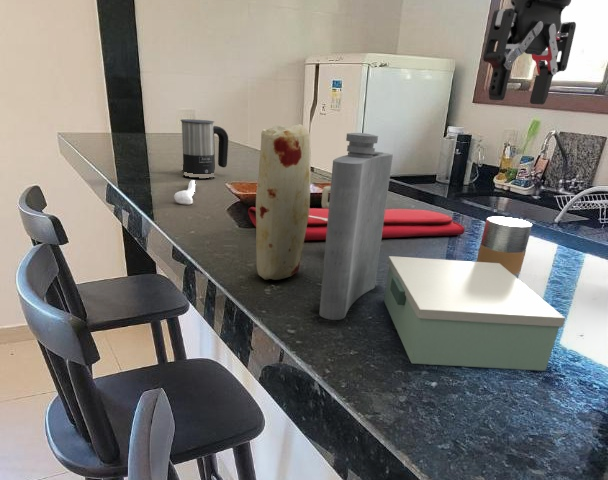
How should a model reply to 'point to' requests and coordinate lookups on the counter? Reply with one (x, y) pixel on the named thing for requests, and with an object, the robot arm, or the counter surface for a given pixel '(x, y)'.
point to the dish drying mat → (387, 223)
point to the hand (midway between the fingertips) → (517, 102)
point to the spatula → (186, 194)
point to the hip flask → (354, 224)
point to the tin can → (505, 243)
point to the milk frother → (202, 146)
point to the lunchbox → (469, 315)
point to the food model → (282, 200)
